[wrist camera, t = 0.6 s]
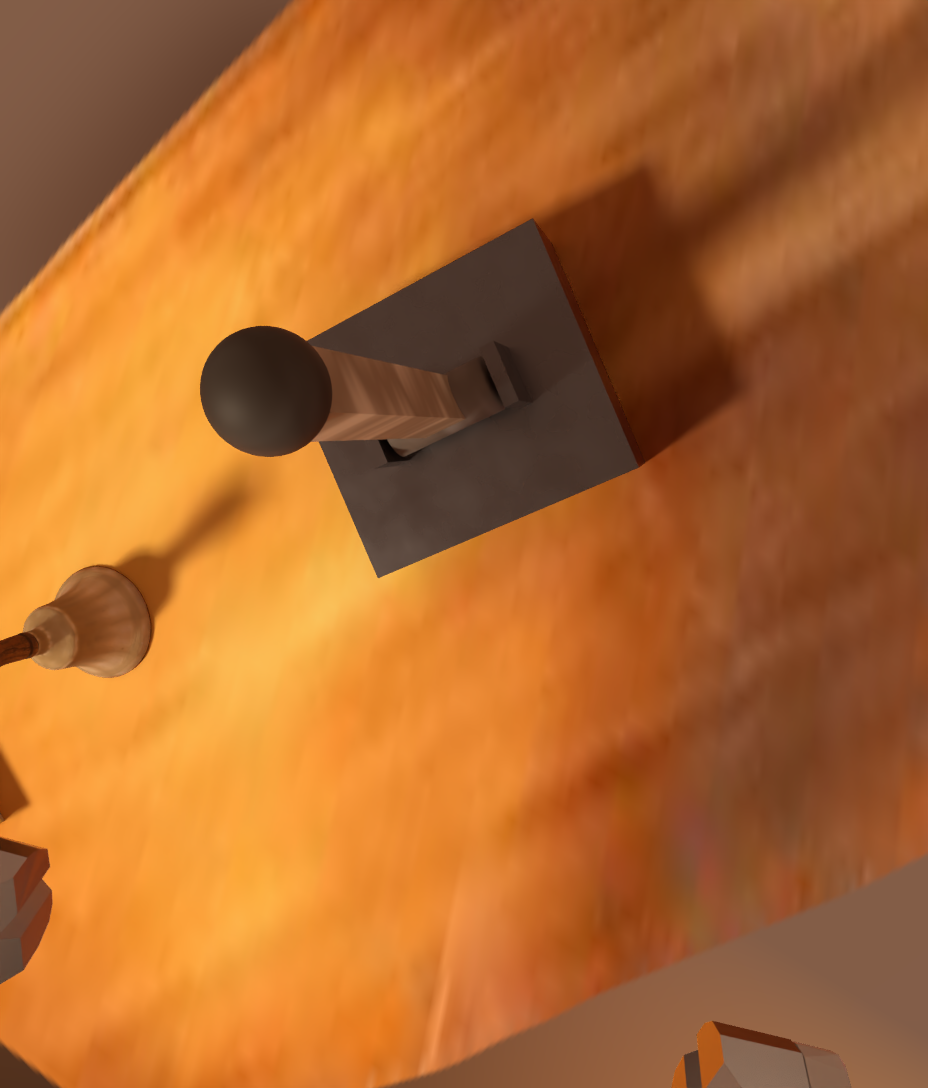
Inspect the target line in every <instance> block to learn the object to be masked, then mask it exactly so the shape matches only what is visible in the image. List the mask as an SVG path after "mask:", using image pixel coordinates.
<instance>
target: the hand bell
mask: <svg viewBox="0 0 928 1088" xmlns="http://www.w3.org/2000/svg"><path fill="white" fill-rule="evenodd" d="M150 630H151V625H150V618H149V613H148V609H147V606H146V604H145V601H144V599H143V597H142V595H141V594H140V592H139V591H138V589H137V588H136V587H135V586H134V584H133V583H132V582H131V581H130V580H128V579H127V578H126V577H124V576H123V575H122V574H120V573H118V572H117V571H114V570H112V569H109V568H106V567H88V568H84V569H81V570H79V571H77V572H76V573H74V574H73V575H71V576H70V577H69V578H68V579H67V580H66V581H65V582H64V583H63V585H62V586H61V588H60V589H59V591H58V593H57V595H56V598H55V600H54V601H53V602H51V603H49V604H46V605H44V606H41V607H39V608H37V609H35V610H34V611H33V612H32V613H31V614H30V615H29V616H28V618H27V620H26V622H25V624H24V628H23V633H20V634H18V635H15V636H12V637H9V638H6V639H4V640H1V641H0V667H1V666H3V665H5V664H9V663H12V662H16V661H20V660H23V659H28V658H32V659H33V661H34V662H35V663H37V664H38V665H40V666H42V667H44V668H46V669H50V670H59V669H64V668H69V667H77V668H79V669H80V670H82V671H84V672H86V673H88V674H91V675H94V676H99V677H104V678H112V677H118V676H121V675H124V674H126V673H128V672H129V671H131V670H132V669H134V668H135V667H136V666H137V665H138V664H139V662H140V661H141V660H142V658H143V656H144V655H145V653H146V651H147V648H148V644H149V641H150Z"/></svg>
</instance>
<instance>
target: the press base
mask: <svg viewBox="0 0 928 1088" xmlns="http://www.w3.org/2000/svg"><path fill="white" fill-rule="evenodd" d="M307 342H308V343H309V344H310V345H311V346H315V347H320V348H324V349H329V350H333V351H338V352H342V353H347V354H352V355H356V356H361V357H365V358H370V359H374V360H379V361H383V362H388V363H393V364H397V365H402V366H406V367H411V368H415V369H420V370H424V371H429V372H434V373H438V374H445V373H447V372H449V371H451V370H453V369H455V368H457V367H459V366H461V365H463V364H465V363H467V362H469V361H471V360H473V359H475V358H477V357H479V356H481V357H483V359H484V361H485V363H486V366H487V368H488V370H489V373H490V375H491V377H492V380H493V382H494V384H495V387H496V389H497V391H498V394H499V396H500V398H501V401H502V403H503V405H504V407H505V409H504V410H502V411H500V412H498V413H496V414H494V415H492V416H490V417H488V418H485V419H483V420H481V421H479V422H477V423H475V424H473V425H471V426H468V427H466V428H464V429H462V430H460V431H458V432H456V433H454V434H452V435H449V436H447V437H445V438H443V439H441V440H439V441H437V442H435V443H432V444H430V445H428V446H426V447H424V448H422V449H420V450H418V451H415V452H413V453H411V454H409V455H407V456H405V457H402V456H400V455H399V454H397V453H396V452H395V450H394V449H393V448H392V447H391V445H390V444H389V442H388V440H387V439H379V440H347V441H319V443H320V445H321V448H322V450H323V452H324V455H325V457H326V459H327V462H328V464H329V466H330V468H331V471H332V473H333V475H334V478H335V480H336V482H337V485H338V487H339V489H340V492H341V494H342V496H343V498H344V501H345V503H346V505H347V508H348V510H349V512H350V515H351V517H352V519H353V522H354V524H355V526H356V529H357V531H358V533H359V535H360V538H361V540H362V542H363V545H364V547H365V549H366V552H367V554H368V556H369V559H370V561H371V563H372V565H373V568H374V570H375V572H376V575H377V577H378V578H380V577H382V576H384V575H387V574H389V573H392V572H394V571H396V570H399V569H401V568H403V567H406V566H408V565H410V564H413V563H415V562H417V561H420V560H422V559H424V558H427V557H429V556H432V555H434V554H436V553H439V552H441V551H443V550H446V549H448V548H450V547H453V546H455V545H457V544H460V543H462V542H464V541H467V540H469V539H472V538H474V537H476V536H479V535H481V534H483V533H486V532H488V531H490V530H493V529H495V528H497V527H500V526H502V525H504V524H507V523H509V522H512V521H514V520H516V519H519V518H521V517H523V516H526V515H528V514H530V513H533V512H535V511H537V510H540V509H542V508H545V507H547V506H549V505H552V504H554V503H556V502H559V501H561V500H563V499H566V498H568V497H570V496H573V495H575V494H577V493H580V492H582V491H585V490H587V489H589V488H592V487H594V486H596V485H599V484H601V483H603V482H606V481H608V480H610V479H613V478H615V477H617V476H620V475H622V474H625V473H627V472H629V471H632V470H634V469H636V468H639V467H640V466H642V465H643V464H644V463H645V461H644V459H643V457H642V454H641V452H640V450H639V447H638V445H637V442H636V440H635V438H634V435H633V433H632V431H631V428H630V426H629V424H628V421H627V419H626V417H625V414H624V412H623V410H622V407H621V405H620V402H619V400H618V398H617V395H616V393H615V391H614V388H613V386H612V384H611V381H610V379H609V377H608V374H607V372H606V370H605V367H604V365H603V363H602V360H601V358H600V355H599V353H598V351H597V348H596V346H595V344H594V341H593V339H592V337H591V334H590V332H589V330H588V327H587V325H586V323H585V320H584V318H583V316H582V313H581V311H580V308H579V306H578V304H577V301H576V299H575V297H574V294H573V292H572V290H571V287H570V285H569V283H568V280H567V278H566V276H565V273H564V271H563V269H562V266H561V264H560V261H559V259H558V257H557V254H556V252H555V250H554V247H553V245H552V243H551V242H550V240H549V239H548V238H547V236H546V235H545V234H544V233H543V231H542V230H541V229H540V227H539V226H538V225H537V223H536V222H535V221H534V219H531V220H529V221H527V222H525V223H523V224H522V225H520V226H518V227H516V228H514V229H512V230H510V231H509V232H507V233H505V234H503V235H501V236H499V237H498V238H496V239H494V240H492V241H490V242H488V243H487V244H485V245H483V246H481V247H479V248H477V249H475V250H474V251H472V252H470V253H468V254H466V255H464V256H463V257H461V258H459V259H457V260H455V261H453V262H452V263H450V264H448V265H446V266H444V267H442V268H440V269H439V270H437V271H435V272H433V273H431V274H429V275H428V276H426V277H424V278H422V279H420V280H418V281H417V282H415V283H413V284H411V285H409V286H407V287H406V288H404V289H402V290H400V291H398V292H396V293H394V294H393V295H391V296H389V297H387V298H385V299H383V300H382V301H380V302H378V303H376V304H374V305H372V306H371V307H369V308H367V309H365V310H363V311H361V312H359V313H358V314H356V315H354V316H352V317H350V318H348V319H347V320H345V321H343V322H341V323H339V324H337V325H336V326H334V327H332V328H330V329H328V330H326V331H324V332H323V333H321V334H319V335H317V336H315V337H313V338H312V339H310V340H308V341H307Z"/></svg>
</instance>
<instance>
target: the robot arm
mask: <svg viewBox="0 0 928 1088" xmlns="http://www.w3.org/2000/svg"><path fill="white" fill-rule="evenodd" d="M49 867H50V864H49V857H48V850H47V849H46V848H42V847H38V846H34V845H30V844H27V843H23V842H19V841H15V840H11V839H8V838H4V837H0V984H1V983H3V982H5V981H6V980H8V979H10V978H11V977H13V976H15V975H16V974H18V973H20V972H21V971H23V970H24V969H25V967H26V965H27V964H28V962H29V961H30V959H31V957H32V956H33V954H34V953H35V951H36V949H37V948H38V946H39V944H40V941H41V939H42V936H43V934H44V932H45V929H46V927H47V925H48V922H49V919H50V914H51V908H52V890H51V889H50V888H49V887H48V886H47V884H46V883H45V882H44V881H43V880H42V878H43V876H44V875H45V873H46V872H47V870H48V869H49ZM697 1043H698V1050H697V1051H694V1052H691V1053H688V1054H685V1055H684V1056H683V1057H682V1059H681V1061H680V1063H679V1065H678V1066H677V1068H676V1070H675V1073H674V1077H673V1082H672V1087H671V1088H851V1084H850V1081H849V1077H848V1074H847V1070H846V1066H845V1064H844V1063H843V1061H842V1060H841V1058H840V1056H839V1055H838V1054H836V1053H834V1052H832V1051H830V1050H826V1049H822V1048H818V1047H814V1046H810V1045H806V1044H802V1043H797V1042H793V1041H791V1040H789V1039H786V1038H782V1037H778V1036H773V1035H769V1034H765V1033H761V1032H757V1031H753V1030H748V1029H744V1028H740V1027H736V1026H732V1025H727V1024H723V1023H719V1022H714V1021H711V1022H707V1023H704V1025H703V1026H702V1028H701V1029H700V1031H699V1032H698V1034H697Z"/></svg>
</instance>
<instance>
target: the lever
mask: <svg viewBox="0 0 928 1088" xmlns="http://www.w3.org/2000/svg"><path fill="white" fill-rule="evenodd" d="M200 395H201V402H202V406H203V409H204V412H205V415H206V417H207V419H208V421H209V423H210V424H211V426H212V427H213V429H214V430H215V431H216V432H217V433H218V435H219V436H220V437H221V438H222V439H224V440H225V441H226V442H227V443H229V444H230V445H232V446H233V447H235V448H237V449H239V450H240V451H243V452H246V453H249V454H252V455H256V456H265V457H274V456H282V455H286V454H290V453H292V452H295V451H297V450H299V449H301V448H302V447H304V446H306V445H307V444H308V443H310V442H316V441H347V440H379V439H387V440H388V442H389V444H390V445H391V447H392V448H393V449H394V450H395V452H396V453H397V454H399V455H400V456H402V457H405V456H407V455H409V454H411V453H413V452H415V451H418V450H420V449H422V448H424V447H426V446H428V445H430V444H432V443H435V442H437V441H439V440H441V439H443V438H445V437H447V436H449V435H452V434H454V433H456V432H458V431H460V430H462V429H464V428H466V427H468V426H471V425H473V424H475V423H477V422H479V421H481V420H483V419H485V418H488V417H490V416H492V415H494V414H496V413H498V412H500V411H502V410H504V409H505V407H504V405H503V403H502V401H501V398H500V396H499V394H498V391H497V389H496V387H495V384H494V382H493V380H492V377H491V375H490V373H489V370H488V368H487V366H486V363H485V361H484V359H483V357H481V356H479V357H477V358H475V359H473V360H471V361H469V362H467V363H465V364H463V365H461V366H459V367H457V368H455V369H453V370H451V371H449V372H447V373H445V374H438V373H434V372H429V371H424V370H420V369H415V368H411V367H406V366H402V365H397V364H393V363H388V362H383V361H379V360H374V359H370V358H365V357H361V356H356V355H352V354H347V353H342V352H338V351H333V350H329V349H324V348H320V347H315V346H311V345H310V344H309V343H308V342H307V341H305V340H304V339H303V338H301V337H300V336H298V335H296V334H294V333H292V332H290V331H288V330H285V329H282V328H278V327H271V326H256V327H250V328H245V329H242V330H239V331H237V332H235V333H233V334H231V335H229V336H228V337H226V338H225V339H224V340H223V341H221V342H220V343H219V344H218V345H217V346H216V347H215V349H214V350H213V351H212V352H211V354H210V355H209V357H208V359H207V361H206V363H205V365H204V368H203V371H202V376H201V382H200Z"/></svg>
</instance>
